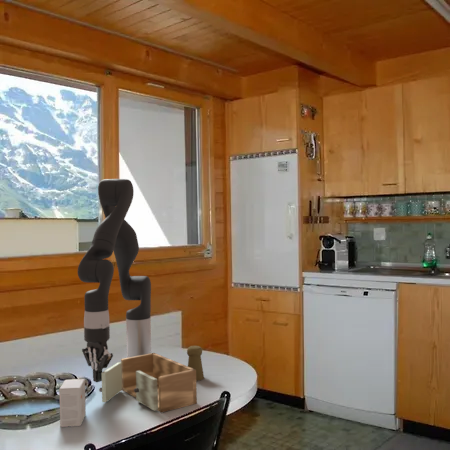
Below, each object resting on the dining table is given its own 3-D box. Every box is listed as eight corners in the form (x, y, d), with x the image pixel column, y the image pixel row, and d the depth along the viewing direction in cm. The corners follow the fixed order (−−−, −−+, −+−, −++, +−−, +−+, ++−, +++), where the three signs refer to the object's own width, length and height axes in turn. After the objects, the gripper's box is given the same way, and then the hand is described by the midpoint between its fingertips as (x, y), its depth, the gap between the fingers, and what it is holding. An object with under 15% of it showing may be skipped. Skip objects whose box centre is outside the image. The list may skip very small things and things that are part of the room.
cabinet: (114, 391, 170) (113, 360, 170) (154, 382, 179) (154, 352, 179) (153, 414, 149) (152, 379, 149) (196, 403, 158) (196, 369, 158)
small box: (65, 416, 150) (65, 379, 150) (86, 415, 150) (85, 378, 150) (59, 427, 142) (58, 388, 142) (80, 426, 142) (79, 387, 142)
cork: (201, 381, 179) (200, 348, 179) (184, 380, 180) (183, 348, 180) (205, 376, 185) (205, 344, 185) (189, 375, 186) (188, 344, 186)
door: (116, 388, 171) (115, 361, 171) (122, 389, 171) (122, 361, 171) (99, 401, 159) (98, 372, 159) (105, 402, 159) (105, 373, 159)
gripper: (73, 324, 163) (74, 379, 163) (99, 330, 154) (100, 389, 155) (94, 319, 169) (95, 374, 169) (120, 325, 160) (121, 382, 160)
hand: (97, 381), depth 162 cm, fingers closed
